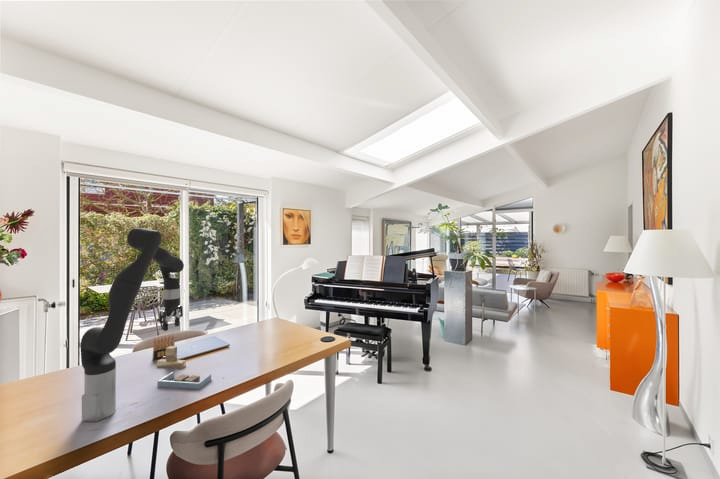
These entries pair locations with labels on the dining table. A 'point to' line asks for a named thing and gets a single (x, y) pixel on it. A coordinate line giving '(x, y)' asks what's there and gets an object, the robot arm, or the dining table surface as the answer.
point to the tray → (179, 384)
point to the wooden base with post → (171, 359)
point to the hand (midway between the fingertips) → (171, 328)
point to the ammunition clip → (161, 347)
